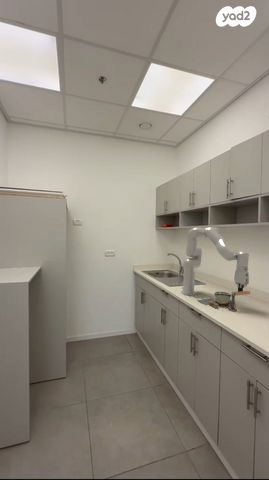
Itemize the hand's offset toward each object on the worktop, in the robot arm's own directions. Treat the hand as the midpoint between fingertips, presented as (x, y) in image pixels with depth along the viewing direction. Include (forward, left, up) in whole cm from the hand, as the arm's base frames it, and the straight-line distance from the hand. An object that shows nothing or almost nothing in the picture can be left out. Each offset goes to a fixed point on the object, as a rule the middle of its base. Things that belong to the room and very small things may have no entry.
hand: (240, 292), depth 169 cm
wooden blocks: (-4, -9, -11) cm, 15 cm away
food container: (-9, -9, -12) cm, 17 cm away
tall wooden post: (+3, -2, -1) cm, 4 cm away
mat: (-18, -13, -11) cm, 25 cm away
